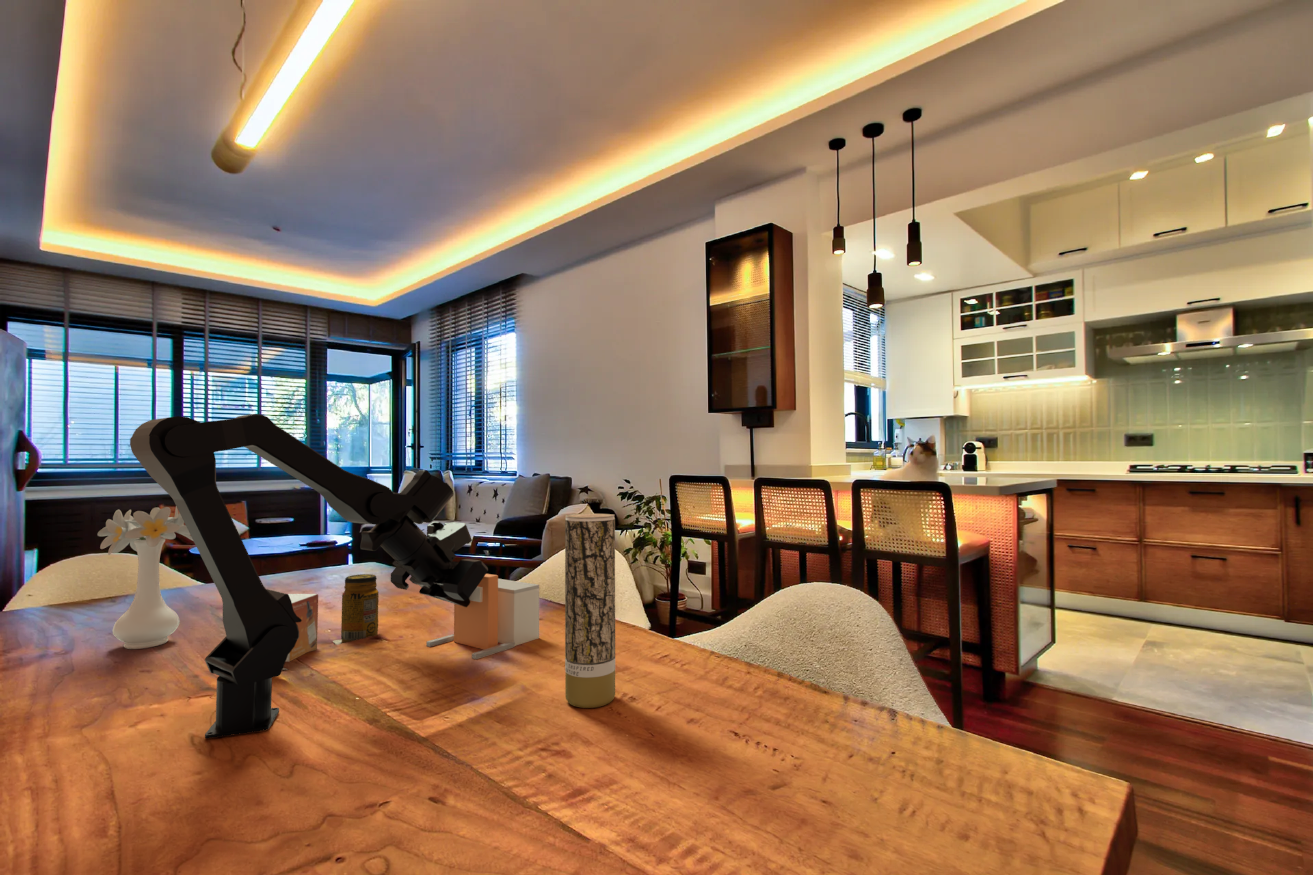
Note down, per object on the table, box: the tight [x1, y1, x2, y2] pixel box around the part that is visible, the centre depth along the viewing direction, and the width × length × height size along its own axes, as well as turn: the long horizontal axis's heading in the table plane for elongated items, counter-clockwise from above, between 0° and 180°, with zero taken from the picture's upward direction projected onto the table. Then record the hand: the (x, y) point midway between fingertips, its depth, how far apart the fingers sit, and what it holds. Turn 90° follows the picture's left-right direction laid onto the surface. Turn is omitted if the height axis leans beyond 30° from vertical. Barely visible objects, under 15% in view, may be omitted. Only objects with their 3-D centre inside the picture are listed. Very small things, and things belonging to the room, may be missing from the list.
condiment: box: [332, 573, 380, 646], centre depth 111 cm, size 7×8×12 cm
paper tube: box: [564, 513, 616, 709], centre depth 84 cm, size 7×7×25 cm
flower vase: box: [97, 505, 194, 650], centre depth 111 cm, size 13×18×25 cm
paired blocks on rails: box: [425, 578, 540, 660], centre depth 104 cm, size 20×14×11 cm
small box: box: [282, 593, 319, 671], centre depth 100 cm, size 8×6×10 cm
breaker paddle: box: [453, 573, 499, 650], centre depth 104 cm, size 2×9×12 cm, turn 55°
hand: (467, 604), depth 103 cm, fingers closed, pressing on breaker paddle
